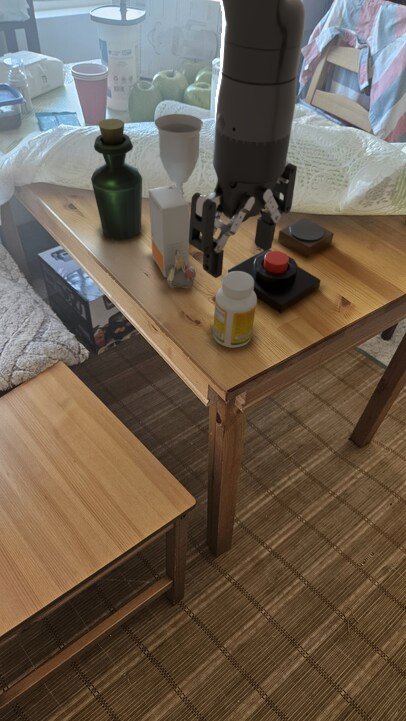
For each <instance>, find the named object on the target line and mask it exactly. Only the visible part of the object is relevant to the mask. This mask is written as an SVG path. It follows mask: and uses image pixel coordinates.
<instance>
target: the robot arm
mask: <svg viewBox="0 0 406 721" xmlns="http://www.w3.org/2000/svg"><path fill="white" fill-rule="evenodd" d="M219 1H220V5H221V11H222V33H221V46H220V47H221V48H220V68H219V69H220V71H219V77H218V82H217V83H218V84H217V89H216V96H215V111H214V126H213V127H214V131H213V149H212V150H213V151H212V166H213V169H214V172H215V174H216V178H217V179H216V185H215V186H214V189H213V192H211V193H208V194H206V195H203V194H201V193H200V192H198V191H197V192H195V193H194V194H193V195H192V197H191V201H190V203H191V204H190V213H189V218H190V229H189V245H190V246H192V247H193V248H195V249H197V250H198V251H200V252H201V253H202V269H203V271H205V272H206V273H207V274H208V275H210V276H211V277H212V278H215V279H218V278H219V277H221V276H222V275H223V266H224V264H223V263H224V252H225V251H224V250H223V249H224V247H225V246H226V244H227V242H228V240H229V238H230V237H231V236H234V235H236V233H237V231H238V229H239V228H240V226H241V224H242V223H244V222H246V221H247V220H248V219H249V218H253V217H256V216H259V217H257V219H256V220H257V221H256V227H255V228H256V229H255V236H254V244H255V246H256V247H258V248H260V249H261V250H262V251H263V250H264V251H267V250H269V249H270V250H272V246H273V241H274V239H275V232H276V226H277V224H278V223H279V221H280V220H281V218H282V214H289V213H290V211H291V210H292V208H293V207H292V206H293V200H294V191H295V186H296V185H295V184H296V178H297V170H298V167H297V165H295V164H293V163H291V162H289V161H287V160H288V159H287V158H288V153H289V146H290V140H291V135H292V128H293V120H294V115H295V108H296V100H297V80H298V71H299V65H300V60H301V52H302V47H303V46H302V45H303V40H304V33H305V26H306V9H305V5H304V3H303V1H302V0H219ZM281 194H282V196H283V198H280V197H281ZM222 214H223V215H224V217H226V218H228V219H229V220H230V221H229V222H228V223H226V222H224V221H222V219H221V216H222ZM218 229H219V230H220V232H219V234H218V236H217V237H216V238H215V237H214V235H215V234H216V232H217V230H218Z"/></svg>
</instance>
